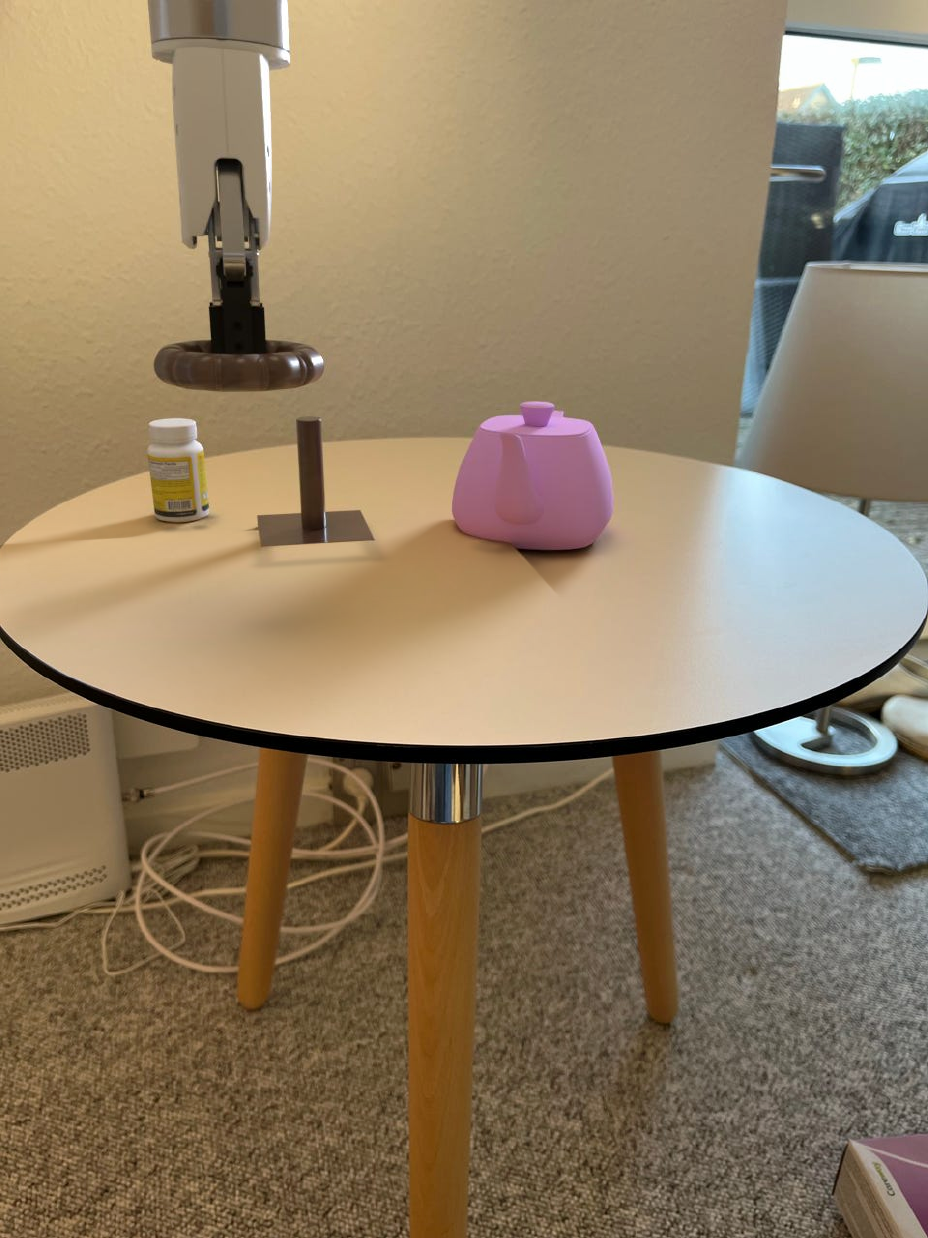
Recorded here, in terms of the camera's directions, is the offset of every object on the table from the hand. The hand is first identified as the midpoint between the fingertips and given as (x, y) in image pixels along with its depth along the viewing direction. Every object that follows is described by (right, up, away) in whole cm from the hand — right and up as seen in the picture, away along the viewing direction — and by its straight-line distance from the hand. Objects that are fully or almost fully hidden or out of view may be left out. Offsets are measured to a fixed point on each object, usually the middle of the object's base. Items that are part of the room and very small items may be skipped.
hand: (239, 369), depth 61 cm
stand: (+1, -9, +21) cm, 23 cm away
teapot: (+20, -9, +22) cm, 31 cm away
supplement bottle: (-11, -6, +27) cm, 30 cm away
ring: (+1, -1, -4) cm, 4 cm away
